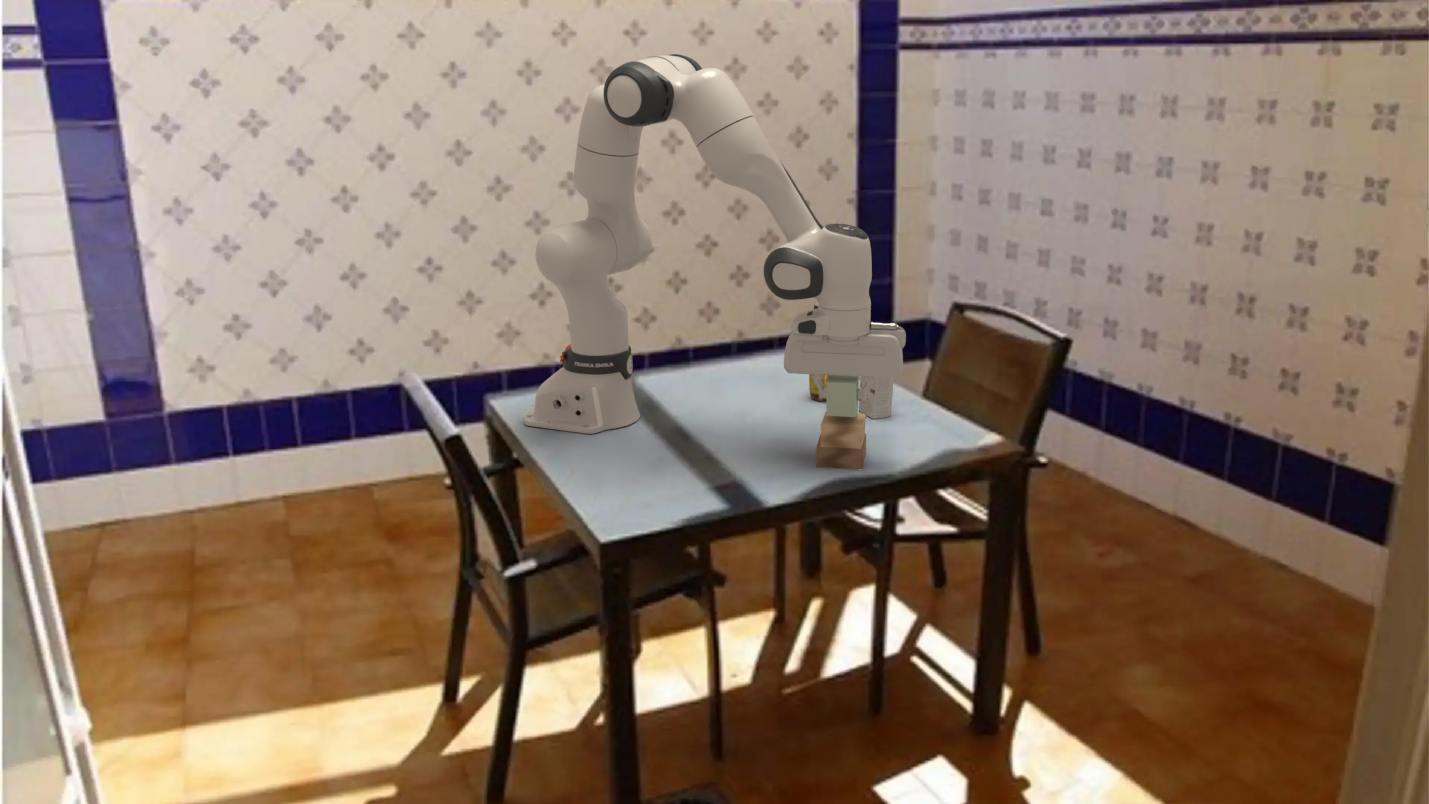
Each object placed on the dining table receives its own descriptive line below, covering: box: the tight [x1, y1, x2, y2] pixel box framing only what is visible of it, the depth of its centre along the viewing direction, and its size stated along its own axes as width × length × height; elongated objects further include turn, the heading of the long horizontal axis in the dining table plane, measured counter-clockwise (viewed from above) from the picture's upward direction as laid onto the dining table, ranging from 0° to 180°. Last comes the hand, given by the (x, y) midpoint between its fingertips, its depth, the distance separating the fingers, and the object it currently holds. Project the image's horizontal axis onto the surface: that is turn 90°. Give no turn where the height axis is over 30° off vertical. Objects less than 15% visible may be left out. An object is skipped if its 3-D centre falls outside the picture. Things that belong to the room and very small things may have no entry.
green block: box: [825, 375, 860, 417], centre depth 204 cm, size 5×5×6 cm
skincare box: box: [858, 376, 895, 419], centre depth 230 cm, size 6×4×12 cm
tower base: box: [815, 433, 867, 471], centre depth 208 cm, size 8×8×4 cm
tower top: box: [820, 411, 866, 449], centre depth 206 cm, size 7×7×4 cm
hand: (842, 399), depth 205 cm, fingers closed on green block, 5 cm apart
